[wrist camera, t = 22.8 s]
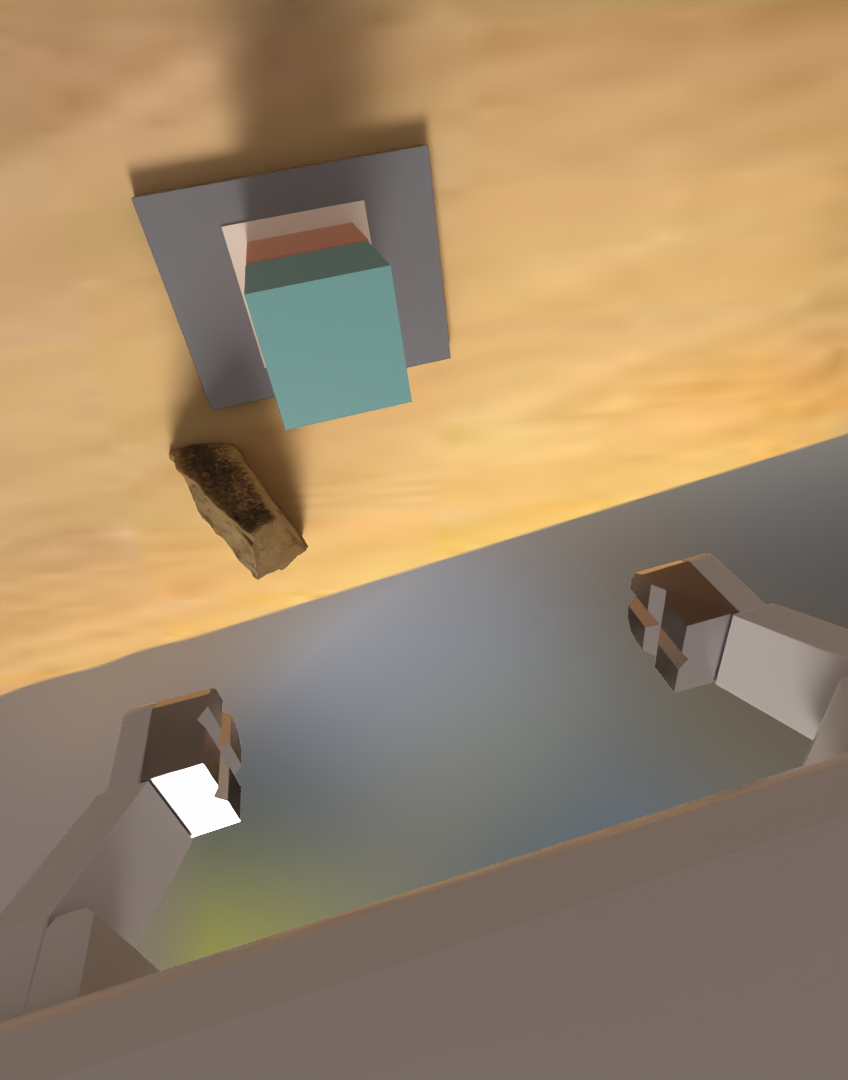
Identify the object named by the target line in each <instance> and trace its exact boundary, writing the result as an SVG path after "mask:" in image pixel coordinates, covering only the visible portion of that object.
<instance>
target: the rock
mask: <svg viewBox="0 0 848 1080" xmlns="http://www.w3.org/2000/svg"><path fill="white" fill-rule="evenodd" d="M169 456H170V459H171V460H172V461H173V462H174V463H175V466H176V469H177V471H179V472H180V473H181V474H182V475H183V476H184V478H185V480H186V482H187V484H188V487H189V489H190V492H191V494H192V496H193V500H194V501H195V503H196V506H197V509H198V512H199V513H200V514H201V516H202V518H203V519H205V520H206V521H207V522H208V523H209V524H210V525H211V527H212V528H213V530H214V531H215V533H216V534H217V535H219V536H221V537H223V539H224V540H225V541H226V542H227V544H228V545H229V546H230V547H231V549H232V550H233V552H234V554H235V555H236V557H237V559H238V560H239V561H240V562H241V563H242V564H243V565H244V566H245V567H246V568H248V569H249V570H250V571H251V573H252V575H253V576H254V577H255V578H256V579H260V578H261V577H263V576H265V575H266V574H269V573H272V572H274V571H276V570H278V569H280V570H283V569H285V568H286V567H287V566H288V565H289V564H290V563H291V562H292V561H293V560H294V559H295V558H296V556H297V555H300V554H302V553H303V552H304V551H306V549H307V547H308V545H307V544H306V542H305V540H304V539H303V537H302V536H301V535H300V533H299V532H298V531H297V530H296V528H295V527H294V526H293V525H292V524H291V523H290V522H289V521H288V520H287V518H286V517H285V516H284V514H283V513H282V511H281V510H280V509H279V508H278V507H277V506H276V504H275V503H274V502H273V500H272V499H271V498H270V496H269V495H268V494H267V492H266V489H265V488H264V486H263V485H262V484H261V483H260V481H259V480H258V478H257V476H256V474H255V473H254V472H253V471H252V470H251V469H250V467H249V466H248V465H247V464H246V462H245V461H244V458H243V456H242V454H241V453H240V451H239V450H238V449H237V448H236V447H234V446H232V445H225V444H196V445H191V446H187V447H184V448H182V449H179V450H175V451H171V452H170V455H169Z"/></svg>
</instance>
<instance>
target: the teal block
mask: <svg viewBox="0 0 848 1080" xmlns="http://www.w3.org/2000/svg"><path fill="white" fill-rule="evenodd" d="M244 296H245V299H246V302H247V305H248V309H249V312H250V315H251V319H252V322H253V325H254V328H255V332H256V335H257V338H258V342H259V345H260V348H261V351H262V355H263V358H264V361H265V365H266V368H267V371H268V374H269V378H270V381H271V384H272V387H273V391H274V394H275V397H276V401H277V404H278V407H279V410H280V414H281V417H282V420H283V424H284V427H285V430H289V429H293V428H298V427H302V426H306V425H311V424H315V423H320V422H324V421H329V420H333V419H337V418H342V417H346V416H351V415H355V414H359V413H364V412H368V411H373V410H377V409H382V408H386V407H390V406H395V405H399V404H404V403H408V402H412V400H411V393H410V387H409V380H408V374H407V367H406V361H405V355H404V348H403V342H402V335H401V329H400V323H399V316H398V310H397V303H396V297H395V291H394V284H393V278H392V271H391V265H390V264H389V263H388V262H387V261H386V260H385V259H384V258H383V257H382V256H381V255H380V253H379V252H378V251H377V250H376V249H375V248H374V247H373V246H372V245H371V244H370V243H369V242H368V241H365V242H360V243H355V244H350V245H345V246H339V247H334V248H329V249H324V250H319V251H314V252H309V253H303V254H298V255H293V256H288V257H283V258H278V259H273V260H267V261H262V262H257V263H252V264H247V265H246V266H245V287H244Z"/></svg>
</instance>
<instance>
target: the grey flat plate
mask: <svg viewBox="0 0 848 1080" xmlns="http://www.w3.org/2000/svg"><path fill="white" fill-rule="evenodd" d="M131 199H132V201H133V204H134V207H135V209H136V212H137V215H138V217H139V220H140V222H141V225H142V228H143V230H144V233H145V236H146V238H147V241H148V243H149V246H150V249H151V251H152V254H153V257H154V259H155V262H156V264H157V267H158V270H159V272H160V275H161V278H162V280H163V283H164V286H165V288H166V291H167V293H168V296H169V299H170V301H171V304H172V307H173V309H174V312H175V314H176V317H177V320H178V322H179V325H180V328H181V330H182V333H183V335H184V338H185V341H186V343H187V346H188V349H189V351H190V354H191V357H192V359H193V362H194V364H195V367H196V370H197V372H198V375H199V378H200V380H201V383H202V385H203V388H204V391H205V393H206V396H207V399H208V401H209V404H210V407H211V409H212V410H217V409H221V408H226V407H230V406H235V405H240V404H244V403H249V402H253V401H258V400H262V399H267V398H271V397H275V394H274V391H273V387H272V384H271V381H270V378H269V374H268V371H267V368H266V365H265V361H264V358H263V355H262V351H261V348H260V345H259V342H258V338H257V335H256V332H255V328H254V325H253V322H252V319H251V315H250V312H249V309H248V305H247V302H246V299H245V296H244V287H245V266H246V250H247V242H248V241H253V240H259V239H264V238H270V237H275V236H280V235H286V234H291V233H297V232H302V231H307V230H313V229H318V228H324V227H329V226H334V225H340V224H345V223H351V222H352V223H353V224H354V225H355V226H356V227H357V228H358V229H359V230H360V231H361V232H362V233H363V234H364V235H365V236H366V237H367V238H368V240H369V243H370V244H371V245H372V246H373V247H374V248H375V249H376V250H377V251H378V252H379V253H380V255H381V256H382V257H383V258H384V259H385V260H386V261H387V262H388V263H389V264H390V265H391V271H392V278H393V284H394V291H395V297H396V303H397V310H398V316H399V323H400V329H401V335H402V342H403V348H404V355H405V361H406V367H407V368H408V367H412V366H417V365H422V364H426V363H431V362H435V361H440V360H444V359H449V358H451V356H450V347H449V338H448V329H447V319H446V310H445V301H444V292H443V282H442V273H441V264H440V255H439V245H438V236H437V227H436V217H435V208H434V199H433V190H432V180H431V171H430V162H429V153H428V145H419V146H414V147H408V148H402V149H397V150H391V151H386V152H380V153H374V154H369V155H363V156H358V157H352V158H346V159H341V160H335V161H330V162H324V163H318V164H313V165H307V166H302V167H296V168H290V169H285V170H279V171H274V172H268V173H262V174H257V175H251V176H246V177H240V178H234V179H229V180H223V181H218V182H212V183H206V184H201V185H195V186H190V187H184V188H178V189H173V190H167V191H162V192H156V193H150V194H145V195H139V196H134V197H133V198H131Z"/></svg>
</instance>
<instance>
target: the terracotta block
mask: <svg viewBox="0 0 848 1080" xmlns="http://www.w3.org/2000/svg"><path fill="white" fill-rule="evenodd" d="M365 241H368V242H369V240H368V238H367V237H366V236H365V235H364V234H363V233H362V232H361V231H360V230H359V229H358V228H357V227H356V226H355V225H354V224H353V223H352V222H351V223H345V224H340V225H334V226H329V227H324V228H318V229H313V230H307V231H302V232H297V233H291V234H286V235H280V236H275V237H270V238H264V239H259V240H253V241H248V242H247V250H246V265H247V264H252V263H257V262H262V261H267V260H273V259H278V258H283V257H288V256H293V255H298V254H303V253H309V252H314V251H319V250H324V249H329V248H334V247H339V246H345V245H350V244H355V243H360V242H365Z"/></svg>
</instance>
